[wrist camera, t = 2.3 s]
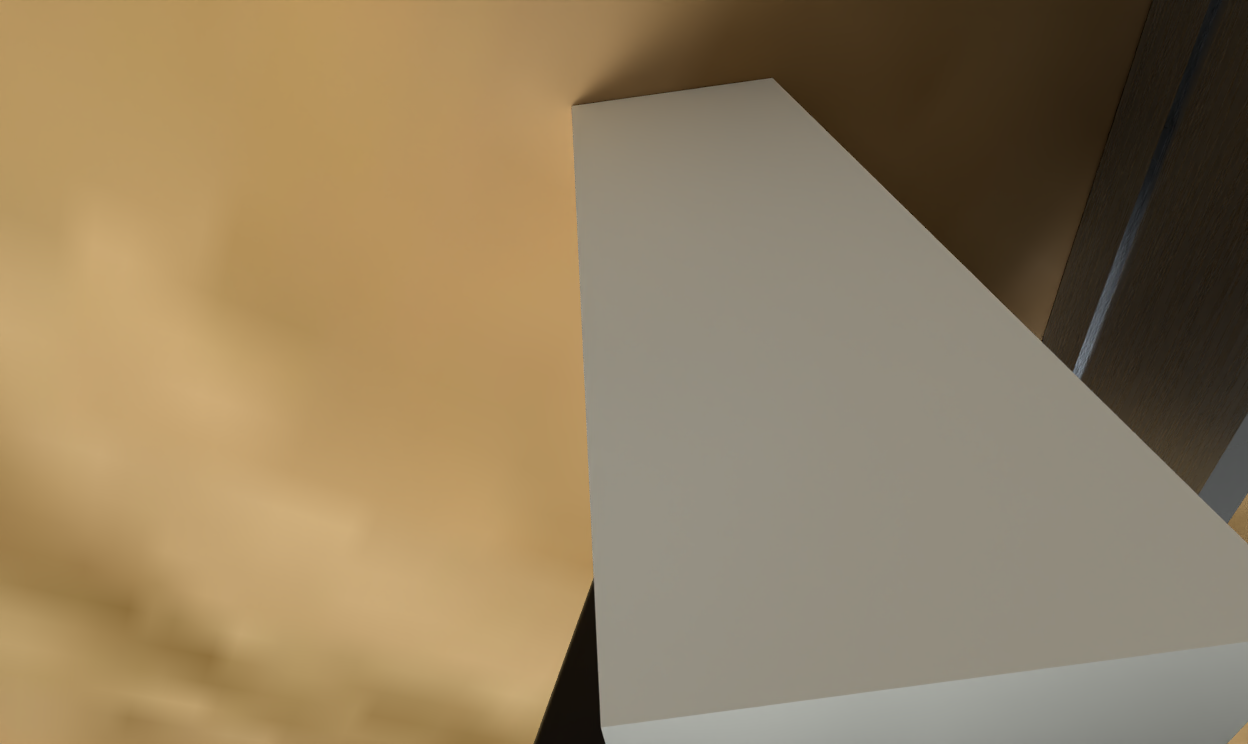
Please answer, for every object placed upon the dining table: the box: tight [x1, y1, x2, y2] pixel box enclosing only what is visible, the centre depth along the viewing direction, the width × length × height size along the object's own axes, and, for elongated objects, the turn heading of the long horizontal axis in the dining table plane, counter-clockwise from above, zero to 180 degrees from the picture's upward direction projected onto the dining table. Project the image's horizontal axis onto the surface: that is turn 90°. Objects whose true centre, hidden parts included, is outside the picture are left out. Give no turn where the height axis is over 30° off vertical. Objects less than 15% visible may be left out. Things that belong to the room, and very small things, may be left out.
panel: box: [572, 78, 1248, 744], centre depth 9 cm, size 10×3×9 cm, turn 6°
